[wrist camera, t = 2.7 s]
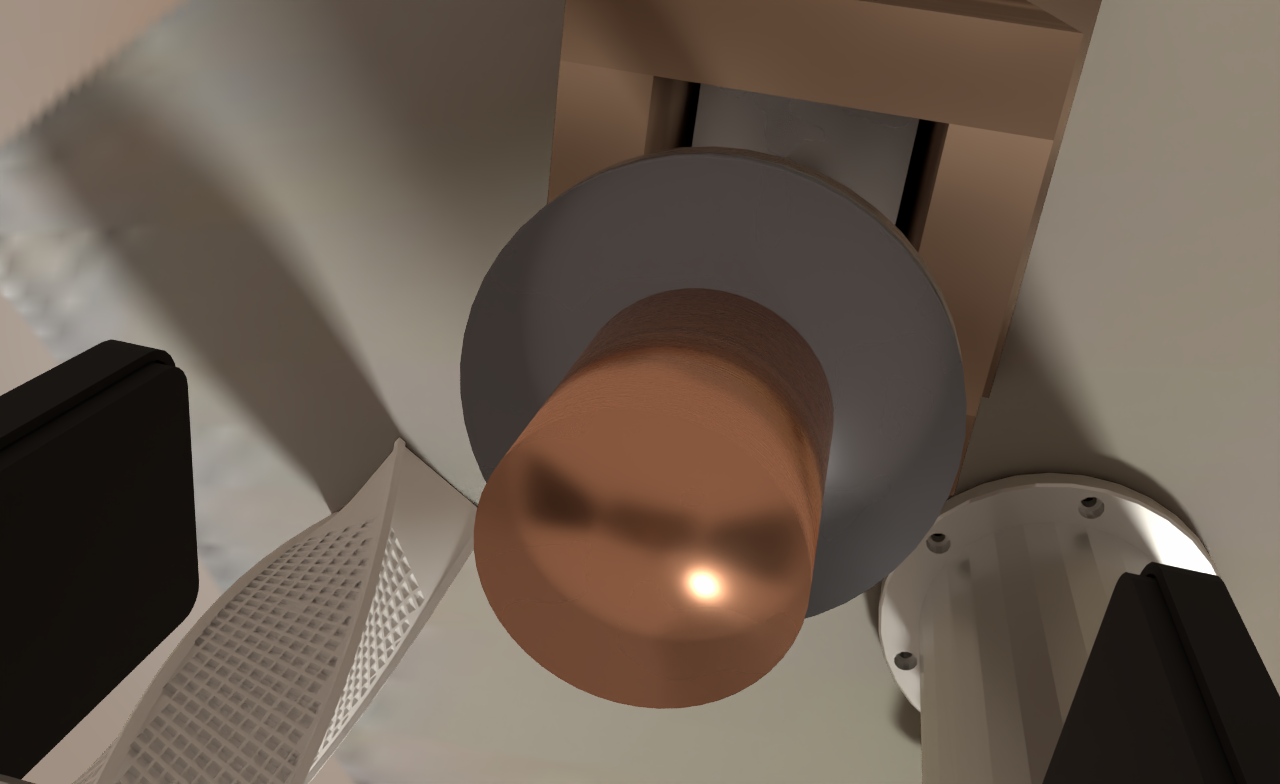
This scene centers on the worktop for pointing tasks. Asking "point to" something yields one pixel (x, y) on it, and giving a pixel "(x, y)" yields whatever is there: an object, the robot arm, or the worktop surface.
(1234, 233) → the worktop surface
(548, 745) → the worktop surface
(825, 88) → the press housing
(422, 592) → the skyscraper
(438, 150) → the worktop surface
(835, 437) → the plunger
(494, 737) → the worktop surface
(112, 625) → the robot arm
